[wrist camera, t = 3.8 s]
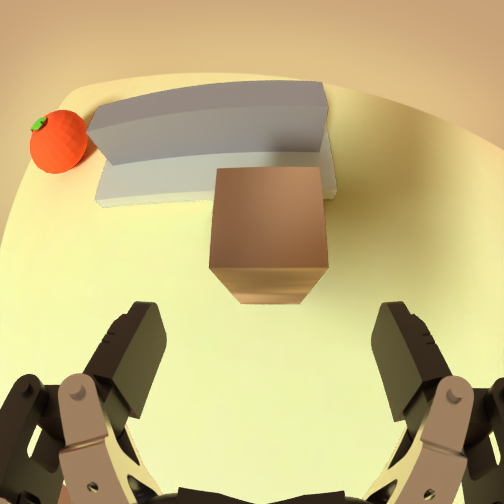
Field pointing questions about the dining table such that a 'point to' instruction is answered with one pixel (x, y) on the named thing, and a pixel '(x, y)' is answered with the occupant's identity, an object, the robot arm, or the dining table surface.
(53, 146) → the clementine
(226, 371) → the dining table surface
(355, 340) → the dining table surface
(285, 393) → the dining table surface
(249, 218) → the walnut post
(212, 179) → the ridge stand
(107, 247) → the dining table surface
